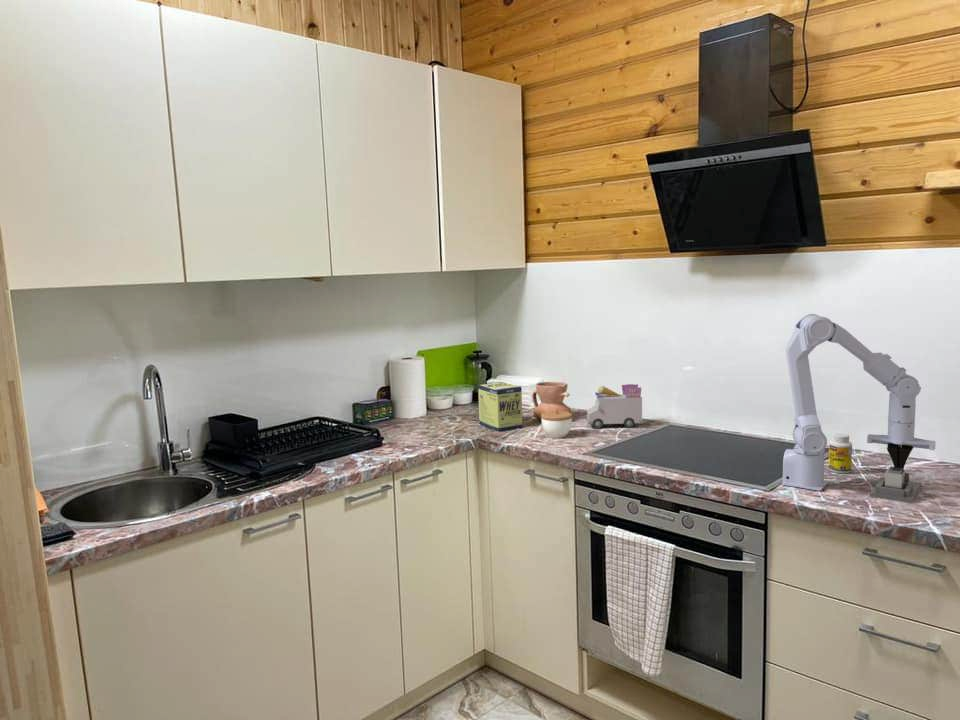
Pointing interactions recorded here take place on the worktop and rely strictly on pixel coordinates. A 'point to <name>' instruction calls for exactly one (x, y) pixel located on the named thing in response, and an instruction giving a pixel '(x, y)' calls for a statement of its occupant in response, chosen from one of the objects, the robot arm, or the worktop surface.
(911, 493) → the chassis
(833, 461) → the supplement bottle
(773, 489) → the worktop surface
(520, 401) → the protein box
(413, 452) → the worktop surface
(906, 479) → the wheel
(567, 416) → the lidded jar
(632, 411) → the toy vehicle
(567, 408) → the ceramic jug
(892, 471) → the grey rectangular block
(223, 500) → the worktop surface
